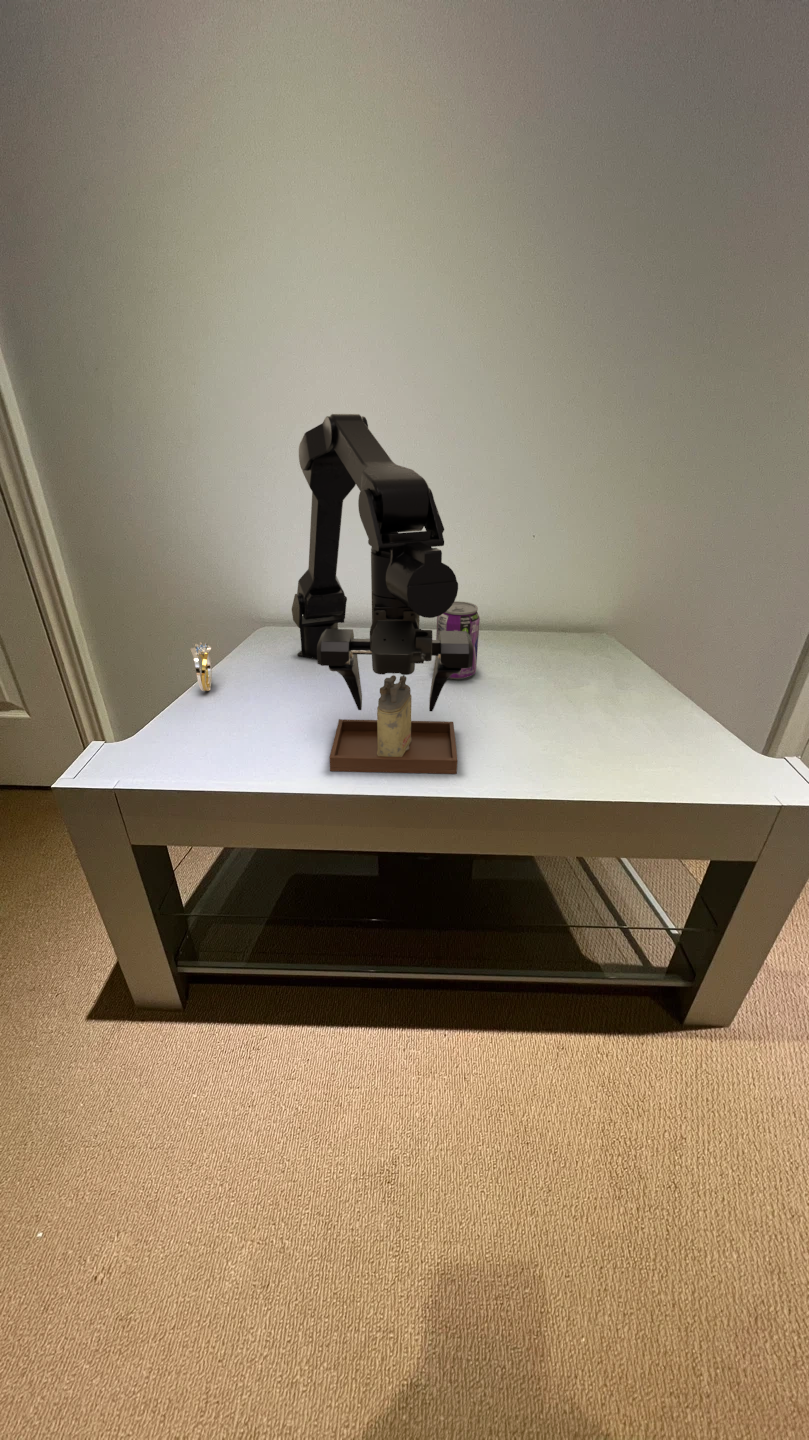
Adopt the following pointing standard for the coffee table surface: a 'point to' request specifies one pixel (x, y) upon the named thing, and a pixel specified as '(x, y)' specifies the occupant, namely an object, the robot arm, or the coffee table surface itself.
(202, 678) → the ring
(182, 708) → the coffee table surface
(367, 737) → the tray
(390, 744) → the worn yellow canister
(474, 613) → the beverage can
